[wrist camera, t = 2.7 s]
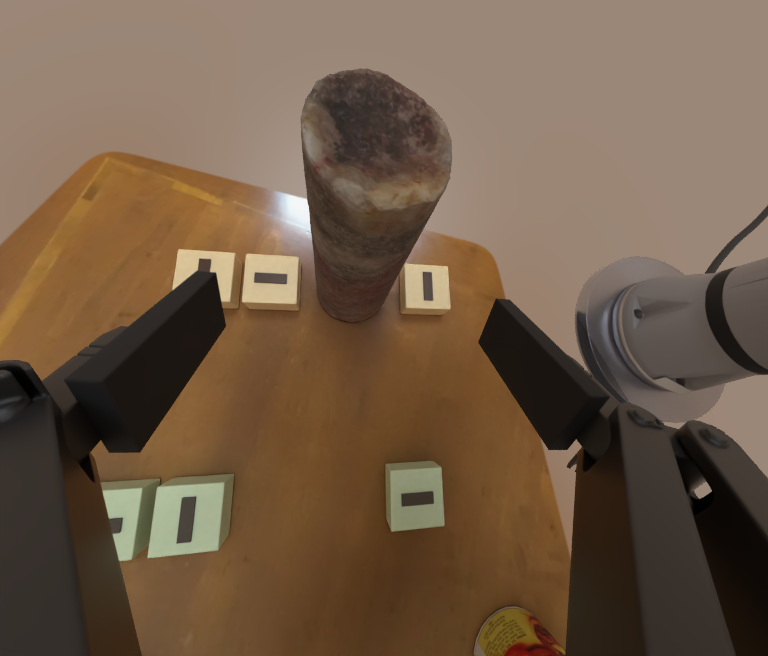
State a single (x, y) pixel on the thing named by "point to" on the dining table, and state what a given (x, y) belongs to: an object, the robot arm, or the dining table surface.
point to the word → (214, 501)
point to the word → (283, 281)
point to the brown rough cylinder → (368, 184)
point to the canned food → (515, 635)
